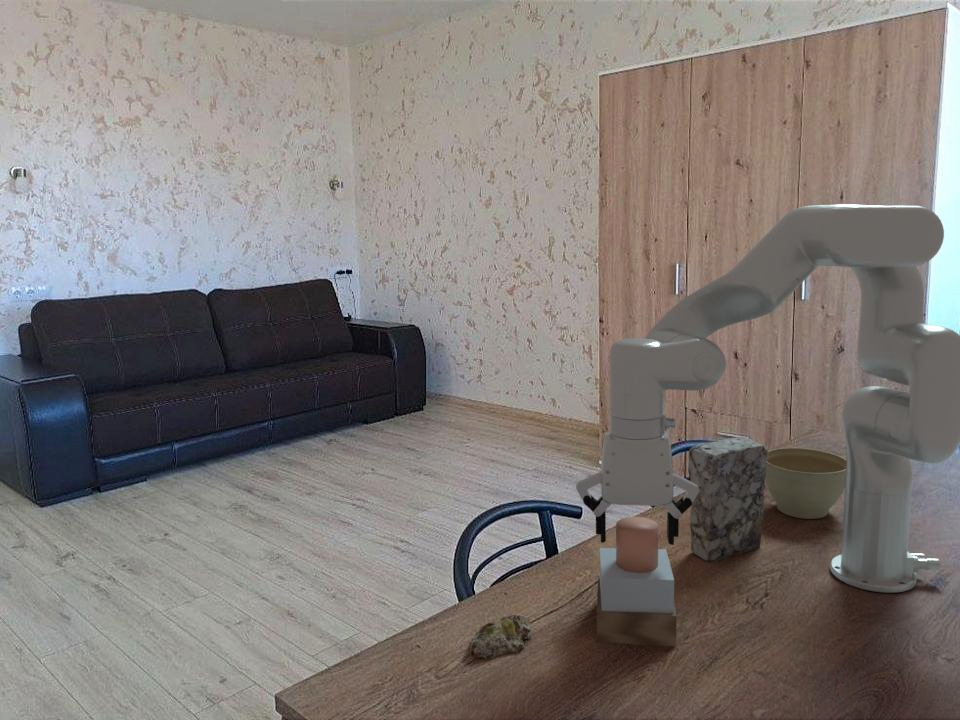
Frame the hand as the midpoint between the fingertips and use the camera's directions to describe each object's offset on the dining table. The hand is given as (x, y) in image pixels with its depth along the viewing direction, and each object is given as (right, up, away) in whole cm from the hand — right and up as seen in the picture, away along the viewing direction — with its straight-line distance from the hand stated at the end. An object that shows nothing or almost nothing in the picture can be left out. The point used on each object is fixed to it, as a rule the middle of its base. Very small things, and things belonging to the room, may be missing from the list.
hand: (636, 539), depth 110 cm
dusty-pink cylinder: (0, -4, +1) cm, 4 cm away
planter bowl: (+42, -5, +42) cm, 60 cm away
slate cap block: (0, -9, +2) cm, 9 cm away
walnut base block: (0, -13, +2) cm, 14 cm away
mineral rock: (-20, -15, -1) cm, 25 cm away
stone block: (+21, -8, +26) cm, 35 cm away
